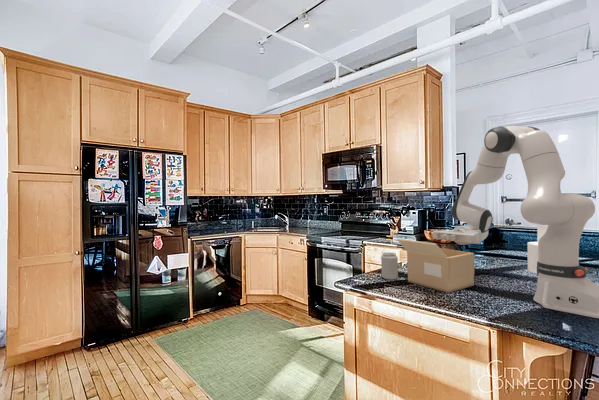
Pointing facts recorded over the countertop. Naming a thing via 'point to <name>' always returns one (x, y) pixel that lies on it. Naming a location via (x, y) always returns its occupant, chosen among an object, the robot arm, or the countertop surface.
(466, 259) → the carton
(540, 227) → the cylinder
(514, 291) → the countertop surface
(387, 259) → the can
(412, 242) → the flap
